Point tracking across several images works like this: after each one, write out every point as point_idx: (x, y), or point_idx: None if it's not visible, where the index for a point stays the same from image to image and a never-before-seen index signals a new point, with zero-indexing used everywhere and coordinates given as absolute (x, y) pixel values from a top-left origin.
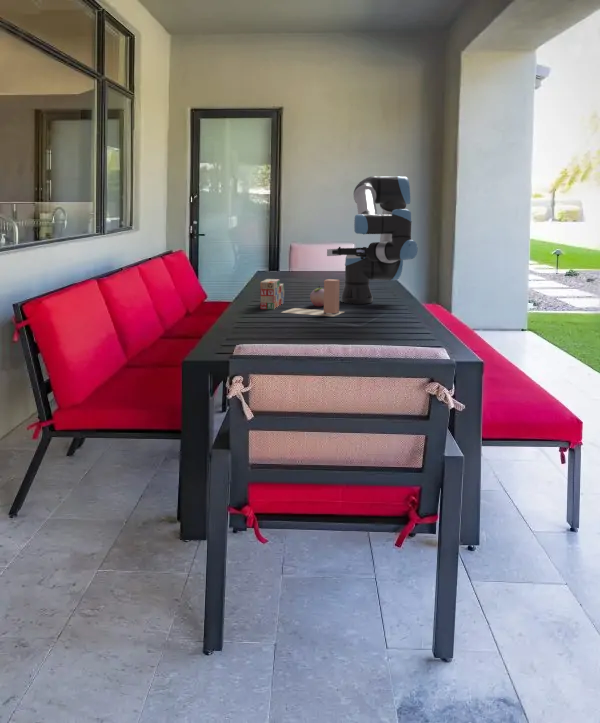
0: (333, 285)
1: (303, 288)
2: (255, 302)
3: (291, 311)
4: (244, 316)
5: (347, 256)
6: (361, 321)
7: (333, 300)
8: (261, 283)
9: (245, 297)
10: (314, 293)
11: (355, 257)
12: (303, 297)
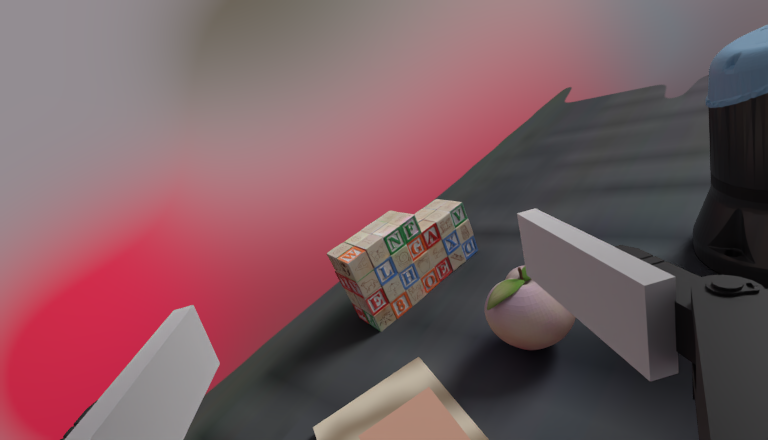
0: None
1: (631, 114)
2: None
3: (356, 424)
4: (221, 419)
5: (530, 262)
6: None
7: None
8: (329, 257)
9: (442, 197)
10: (491, 309)
11: (600, 333)
12: (578, 189)
